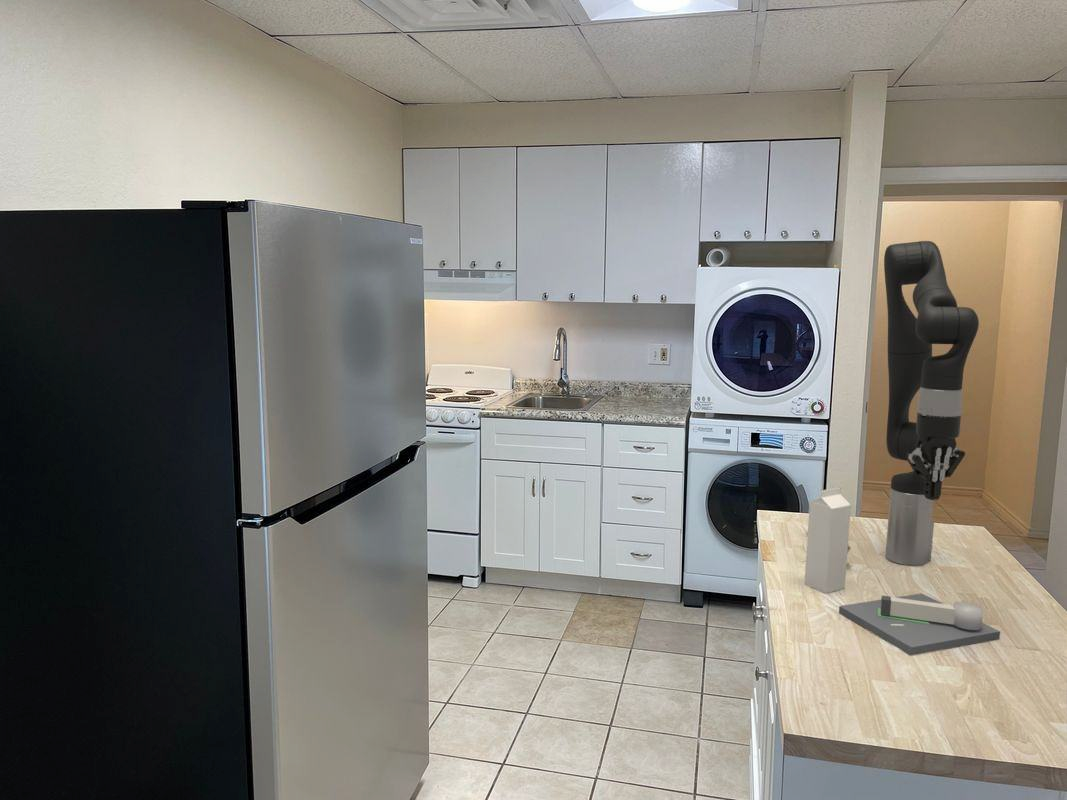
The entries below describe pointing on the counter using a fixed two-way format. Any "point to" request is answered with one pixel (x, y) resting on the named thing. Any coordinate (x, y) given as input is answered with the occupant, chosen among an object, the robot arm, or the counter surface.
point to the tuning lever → (935, 612)
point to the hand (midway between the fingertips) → (931, 498)
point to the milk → (827, 541)
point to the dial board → (914, 628)
